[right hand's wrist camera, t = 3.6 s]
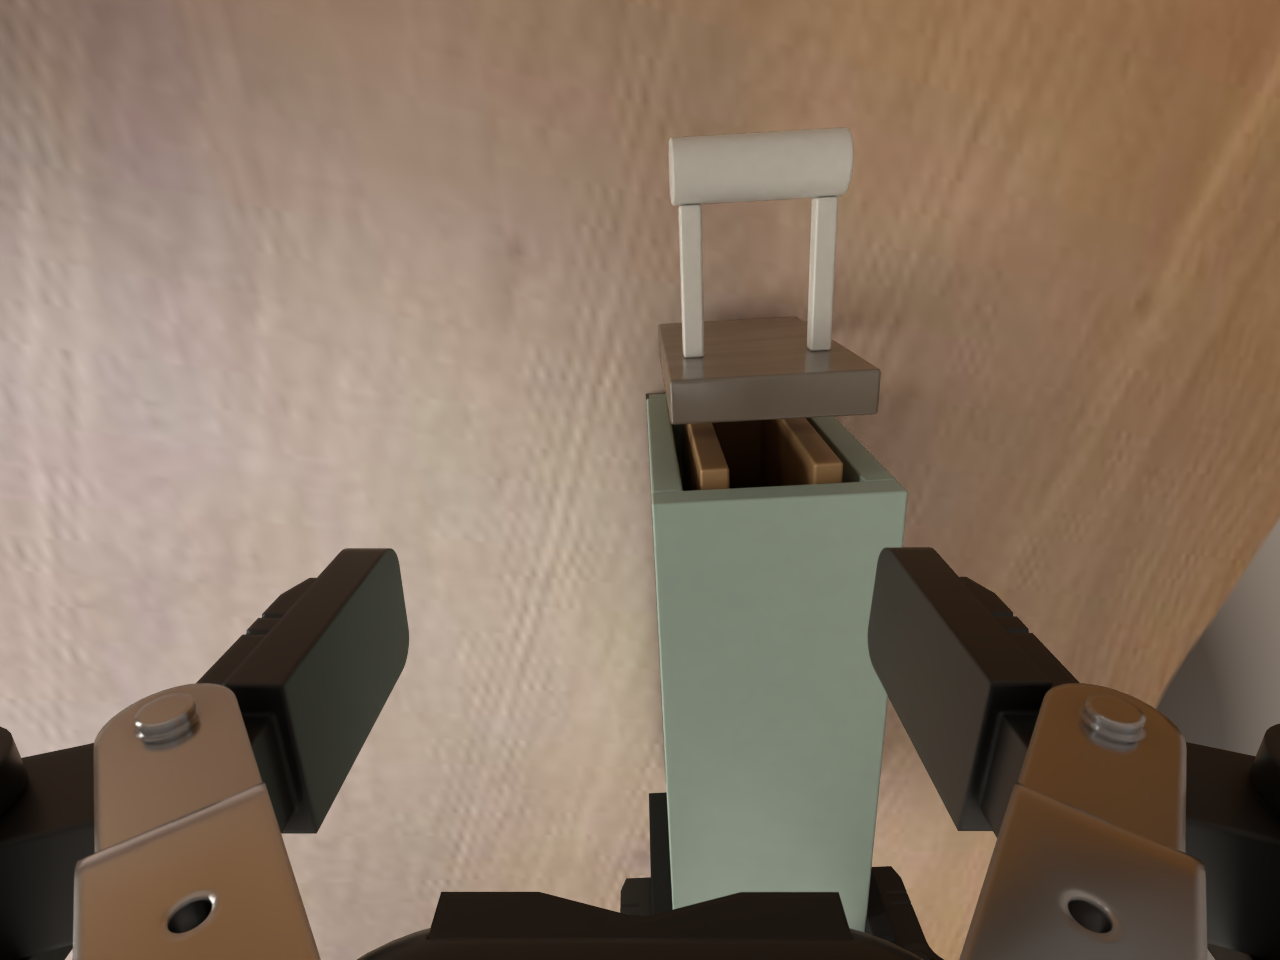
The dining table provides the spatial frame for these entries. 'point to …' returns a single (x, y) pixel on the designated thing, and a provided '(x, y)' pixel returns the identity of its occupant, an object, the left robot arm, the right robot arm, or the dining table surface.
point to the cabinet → (770, 673)
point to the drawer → (760, 322)
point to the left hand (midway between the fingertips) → (744, 813)
